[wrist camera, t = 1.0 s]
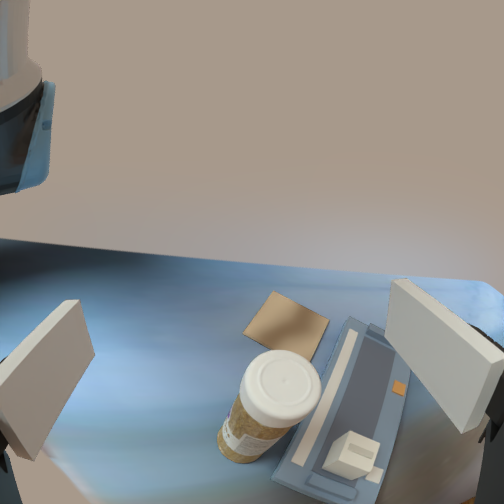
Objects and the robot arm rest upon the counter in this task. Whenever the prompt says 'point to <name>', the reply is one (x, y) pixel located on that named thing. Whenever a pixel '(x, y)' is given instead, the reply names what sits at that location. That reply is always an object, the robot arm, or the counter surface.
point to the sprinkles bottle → (268, 404)
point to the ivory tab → (351, 456)
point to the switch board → (349, 416)
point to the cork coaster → (287, 326)
